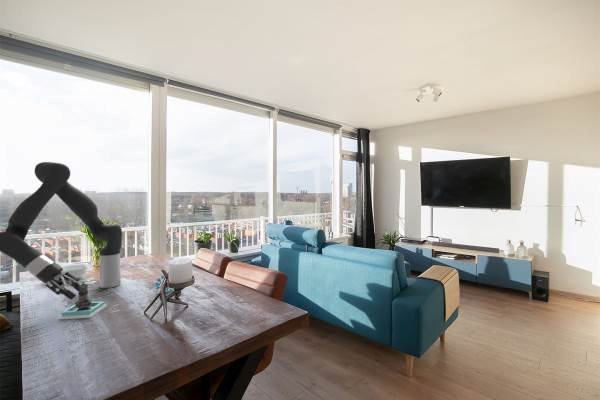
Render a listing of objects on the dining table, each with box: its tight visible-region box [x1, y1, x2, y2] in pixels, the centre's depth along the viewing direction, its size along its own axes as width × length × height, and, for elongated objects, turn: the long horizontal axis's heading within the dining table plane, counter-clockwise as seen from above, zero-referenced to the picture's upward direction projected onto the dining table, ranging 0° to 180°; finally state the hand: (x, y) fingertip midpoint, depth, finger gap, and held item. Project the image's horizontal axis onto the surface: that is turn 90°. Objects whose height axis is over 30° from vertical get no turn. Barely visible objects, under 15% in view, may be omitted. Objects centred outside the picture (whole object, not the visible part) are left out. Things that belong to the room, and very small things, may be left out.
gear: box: [155, 275, 173, 292], centre depth 146 cm, size 11×6×10 cm
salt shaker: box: [74, 281, 93, 311], centre depth 118 cm, size 6×6×12 cm
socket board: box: [58, 301, 108, 320], centre depth 119 cm, size 12×12×2 cm
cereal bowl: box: [60, 263, 88, 279], centre depth 165 cm, size 17×17×7 cm
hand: (78, 294), depth 118 cm, fingers open, 8 cm apart
